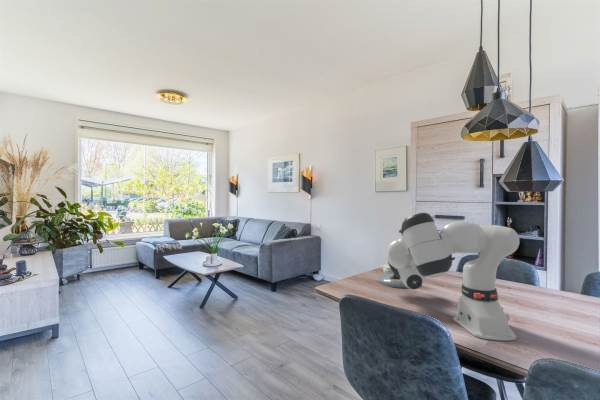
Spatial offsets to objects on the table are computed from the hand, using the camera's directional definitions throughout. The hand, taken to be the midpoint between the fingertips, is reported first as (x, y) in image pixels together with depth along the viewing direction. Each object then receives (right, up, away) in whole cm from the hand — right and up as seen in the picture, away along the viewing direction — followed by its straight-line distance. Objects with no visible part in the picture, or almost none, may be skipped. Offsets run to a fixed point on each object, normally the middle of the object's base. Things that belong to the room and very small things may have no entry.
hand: (400, 265), depth 158 cm
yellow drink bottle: (+2, -10, +12) cm, 16 cm away
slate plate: (+2, -12, +12) cm, 17 cm away
